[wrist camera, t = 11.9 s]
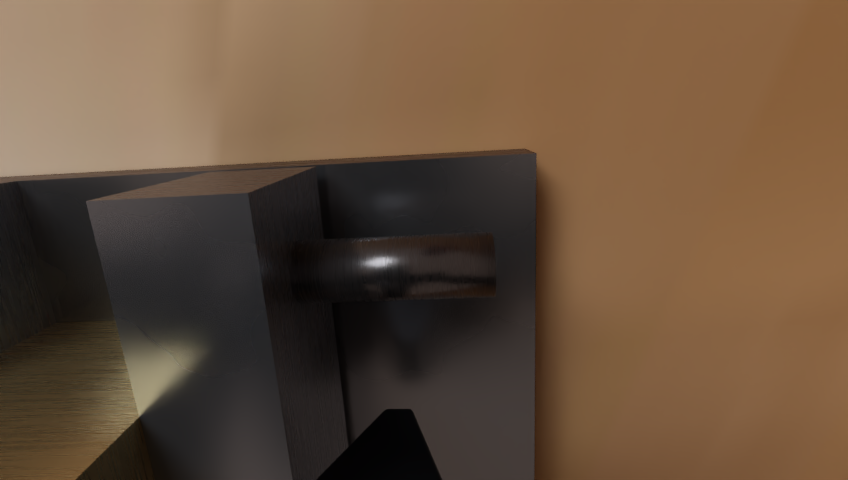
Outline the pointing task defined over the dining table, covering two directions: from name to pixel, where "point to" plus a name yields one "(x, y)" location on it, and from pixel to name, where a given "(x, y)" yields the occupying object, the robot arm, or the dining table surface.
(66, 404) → the block
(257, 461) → the jaw
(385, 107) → the dining table surface
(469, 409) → the vise base
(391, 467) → the robot arm
